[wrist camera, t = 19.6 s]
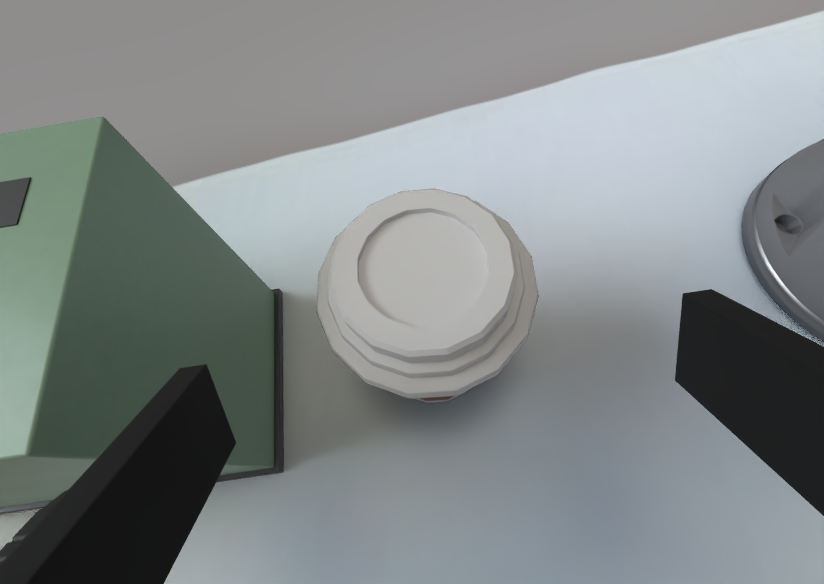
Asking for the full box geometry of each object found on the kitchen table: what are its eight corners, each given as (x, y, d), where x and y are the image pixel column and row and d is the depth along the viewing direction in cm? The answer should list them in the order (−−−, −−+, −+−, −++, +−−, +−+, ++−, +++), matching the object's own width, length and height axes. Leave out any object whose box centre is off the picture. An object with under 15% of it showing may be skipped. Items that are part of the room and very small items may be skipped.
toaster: (282, 291, 29) (112, 105, 15) (283, 472, 24) (34, 468, 10) (7, 334, 30) (-427, 197, 15) (-44, 520, 25) (-749, 585, 10)
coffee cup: (511, 292, 28) (551, 172, 17) (502, 437, 24) (544, 405, 13) (376, 278, 29) (331, 158, 18) (348, 414, 25) (272, 368, 14)
